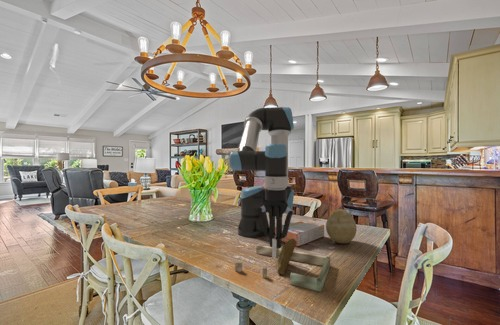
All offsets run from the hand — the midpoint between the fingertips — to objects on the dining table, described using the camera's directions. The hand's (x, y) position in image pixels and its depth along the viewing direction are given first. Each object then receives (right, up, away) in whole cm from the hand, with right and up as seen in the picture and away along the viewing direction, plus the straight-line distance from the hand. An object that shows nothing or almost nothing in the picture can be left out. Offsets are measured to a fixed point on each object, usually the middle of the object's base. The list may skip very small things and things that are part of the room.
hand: (275, 256), depth 82 cm
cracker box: (+23, 0, +37) cm, 43 cm away
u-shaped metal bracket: (+3, -4, -1) cm, 5 cm away
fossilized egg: (+32, -3, +24) cm, 40 cm away
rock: (+2, -4, 0) cm, 4 cm away
